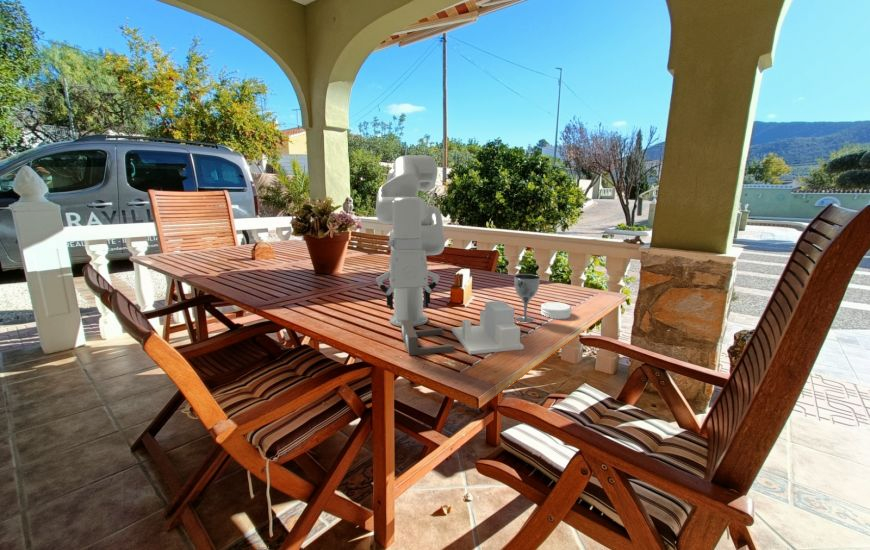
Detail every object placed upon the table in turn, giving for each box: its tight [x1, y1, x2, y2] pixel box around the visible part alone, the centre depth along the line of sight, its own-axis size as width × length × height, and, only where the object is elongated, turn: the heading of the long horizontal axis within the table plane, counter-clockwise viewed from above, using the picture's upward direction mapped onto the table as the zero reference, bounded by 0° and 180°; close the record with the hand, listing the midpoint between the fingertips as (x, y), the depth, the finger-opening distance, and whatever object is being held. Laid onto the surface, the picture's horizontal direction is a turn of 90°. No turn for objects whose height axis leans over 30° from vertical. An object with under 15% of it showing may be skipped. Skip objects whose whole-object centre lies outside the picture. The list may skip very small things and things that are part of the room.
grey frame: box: [400, 320, 455, 357], centre depth 108 cm, size 12×14×5 cm
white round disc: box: [540, 301, 572, 320], centre depth 133 cm, size 10×10×4 cm
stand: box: [451, 300, 525, 356], centre depth 111 cm, size 16×18×10 cm
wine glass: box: [514, 273, 541, 322], centre depth 126 cm, size 8×8×15 cm
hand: (408, 307), depth 105 cm, fingers open, 9 cm apart
